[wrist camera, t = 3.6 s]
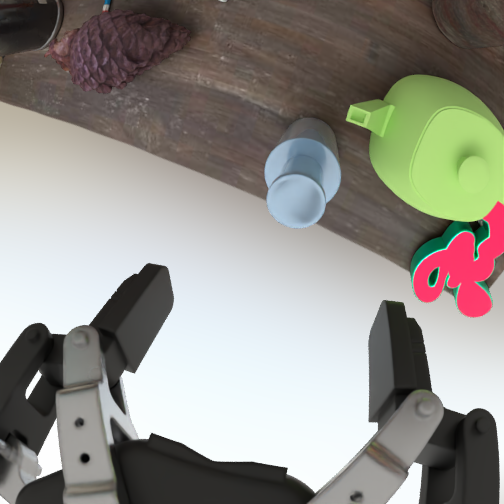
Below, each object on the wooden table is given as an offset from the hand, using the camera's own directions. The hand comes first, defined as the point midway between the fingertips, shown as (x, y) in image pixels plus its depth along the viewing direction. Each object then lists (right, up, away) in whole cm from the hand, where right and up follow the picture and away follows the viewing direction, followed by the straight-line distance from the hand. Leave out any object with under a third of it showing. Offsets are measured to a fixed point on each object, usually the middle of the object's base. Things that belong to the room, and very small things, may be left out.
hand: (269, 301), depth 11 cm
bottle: (+6, +13, +20) cm, 25 cm away
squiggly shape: (+28, +2, +20) cm, 34 cm away
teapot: (+18, +14, +16) cm, 28 cm away
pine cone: (-15, +26, +17) cm, 35 cm away
